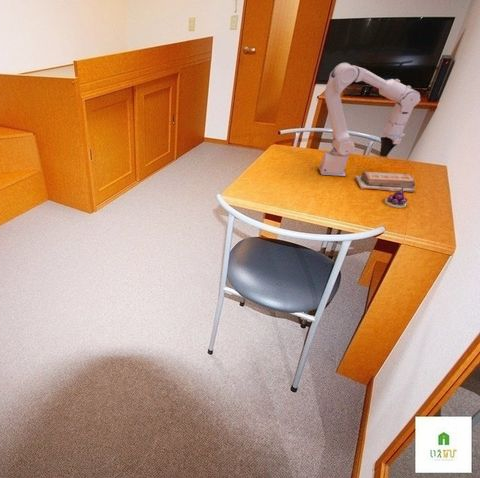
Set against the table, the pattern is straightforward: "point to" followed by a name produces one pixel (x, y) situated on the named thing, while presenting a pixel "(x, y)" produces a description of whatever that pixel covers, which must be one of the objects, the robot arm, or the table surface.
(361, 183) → the packaged product
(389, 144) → the robot arm
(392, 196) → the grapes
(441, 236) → the table surface
